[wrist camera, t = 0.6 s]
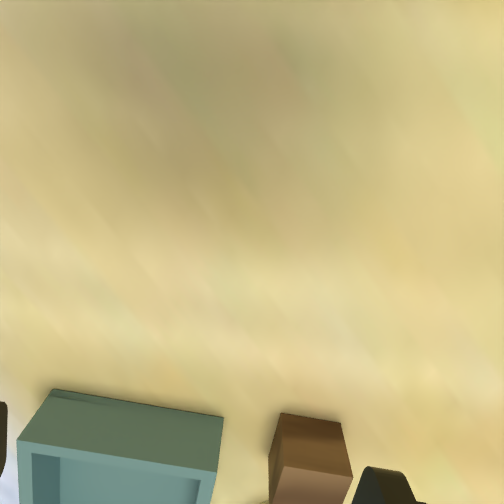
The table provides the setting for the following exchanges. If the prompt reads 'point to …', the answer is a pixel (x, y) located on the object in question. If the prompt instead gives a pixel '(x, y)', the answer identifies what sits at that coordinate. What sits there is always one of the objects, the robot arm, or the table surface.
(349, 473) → the walnut cube
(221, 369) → the table surface
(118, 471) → the tote
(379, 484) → the robot arm
